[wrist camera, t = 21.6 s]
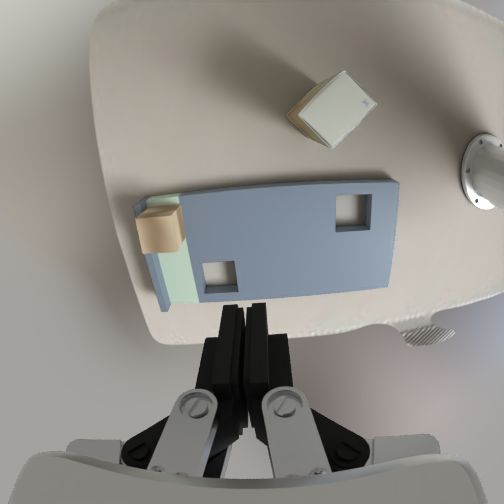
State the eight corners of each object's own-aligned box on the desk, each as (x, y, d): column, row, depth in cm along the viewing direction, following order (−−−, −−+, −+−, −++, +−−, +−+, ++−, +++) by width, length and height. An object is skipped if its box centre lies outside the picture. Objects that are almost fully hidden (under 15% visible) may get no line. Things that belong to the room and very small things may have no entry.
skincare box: (317, 83, 30) (346, 65, 19) (342, 107, 31) (381, 102, 20) (282, 117, 32) (295, 114, 21) (308, 141, 33) (333, 150, 22)
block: (180, 204, 35) (170, 215, 31) (185, 237, 37) (177, 252, 33) (148, 207, 35) (135, 218, 31) (154, 239, 37) (142, 253, 33)
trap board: (392, 179, 35) (406, 186, 31) (383, 280, 42) (392, 294, 38) (144, 197, 37) (133, 206, 33) (168, 296, 44) (161, 311, 40)
